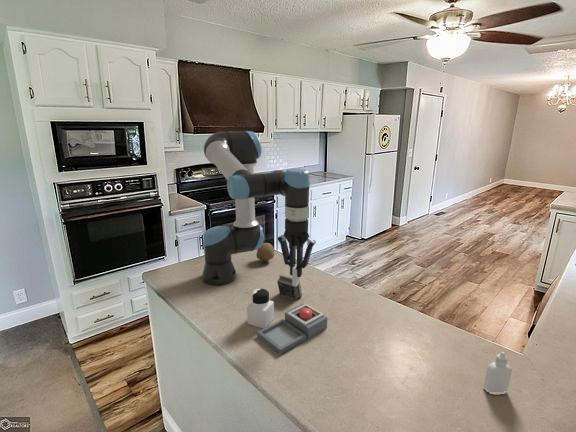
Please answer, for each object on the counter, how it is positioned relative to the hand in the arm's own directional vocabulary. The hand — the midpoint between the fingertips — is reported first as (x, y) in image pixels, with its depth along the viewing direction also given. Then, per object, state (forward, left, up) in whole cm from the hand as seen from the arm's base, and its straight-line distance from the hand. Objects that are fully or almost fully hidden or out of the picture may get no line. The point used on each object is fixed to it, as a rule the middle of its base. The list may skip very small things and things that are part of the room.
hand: (295, 284), depth 111 cm
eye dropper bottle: (+57, +20, -16) cm, 62 cm away
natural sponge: (-49, +25, -16) cm, 57 cm away
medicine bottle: (-9, -8, -16) cm, 20 cm away
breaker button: (+3, +2, -13) cm, 13 cm away
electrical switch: (-15, +11, -16) cm, 24 cm away
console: (+3, -4, -15) cm, 16 cm away
